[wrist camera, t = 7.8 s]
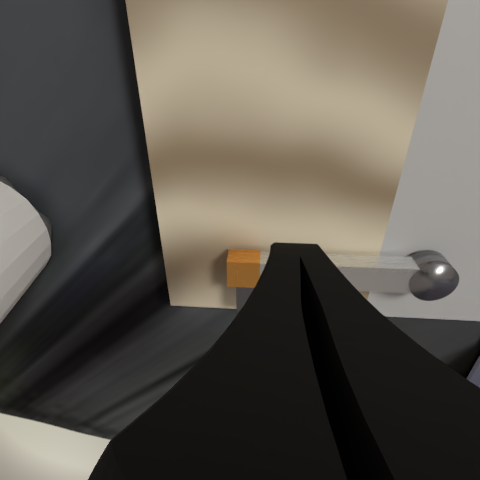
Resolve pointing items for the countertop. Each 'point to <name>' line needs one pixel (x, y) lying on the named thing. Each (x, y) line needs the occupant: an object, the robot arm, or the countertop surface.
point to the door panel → (275, 125)
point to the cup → (20, 245)
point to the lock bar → (364, 272)
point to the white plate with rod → (443, 174)
